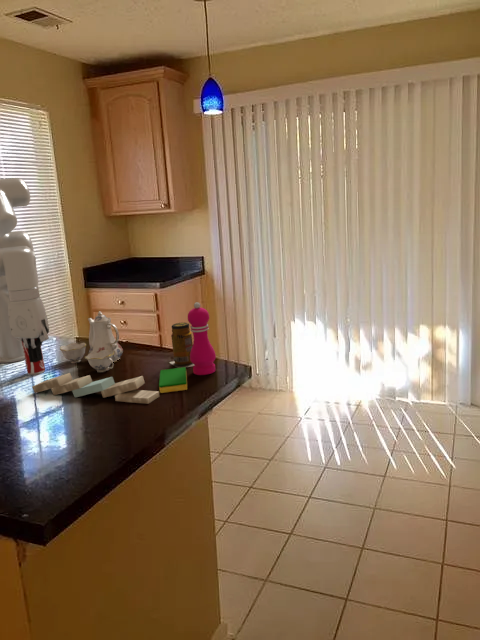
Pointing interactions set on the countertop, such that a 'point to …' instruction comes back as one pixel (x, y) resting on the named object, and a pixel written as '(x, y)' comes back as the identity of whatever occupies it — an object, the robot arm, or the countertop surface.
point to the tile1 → (52, 383)
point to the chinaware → (97, 345)
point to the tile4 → (123, 386)
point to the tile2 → (72, 385)
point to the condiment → (181, 345)
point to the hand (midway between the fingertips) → (36, 360)
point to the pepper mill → (201, 342)
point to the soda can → (31, 366)
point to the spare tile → (94, 387)
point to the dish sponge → (173, 380)
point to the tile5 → (137, 396)
